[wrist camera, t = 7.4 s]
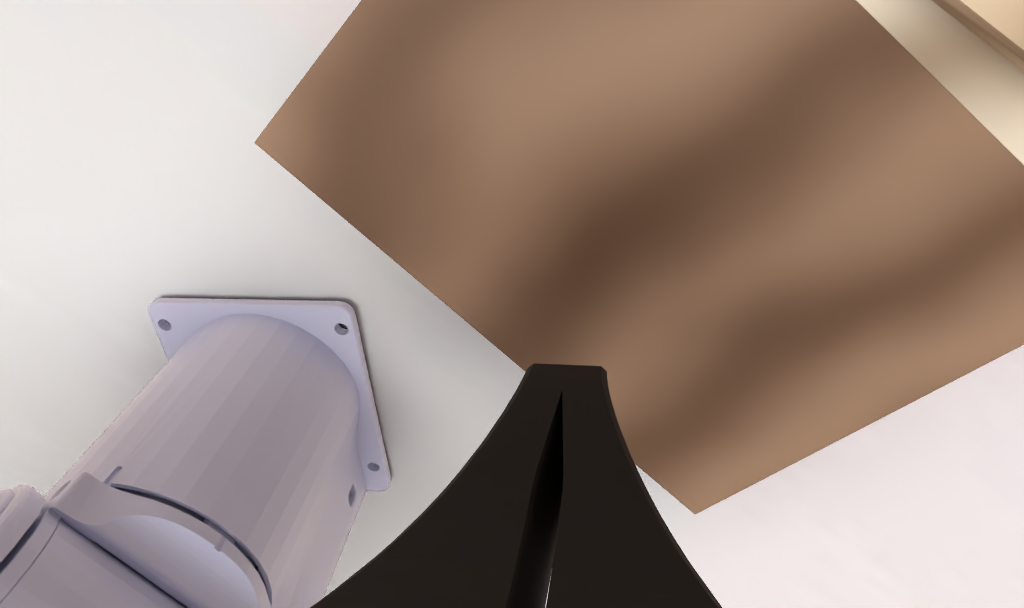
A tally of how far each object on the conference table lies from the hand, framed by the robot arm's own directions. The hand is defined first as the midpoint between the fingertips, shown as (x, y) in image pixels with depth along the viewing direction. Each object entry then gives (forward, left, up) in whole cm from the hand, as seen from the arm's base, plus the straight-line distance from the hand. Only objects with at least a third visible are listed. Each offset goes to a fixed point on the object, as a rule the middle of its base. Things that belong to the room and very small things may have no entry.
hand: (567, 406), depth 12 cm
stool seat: (+2, -5, -10) cm, 12 cm away
